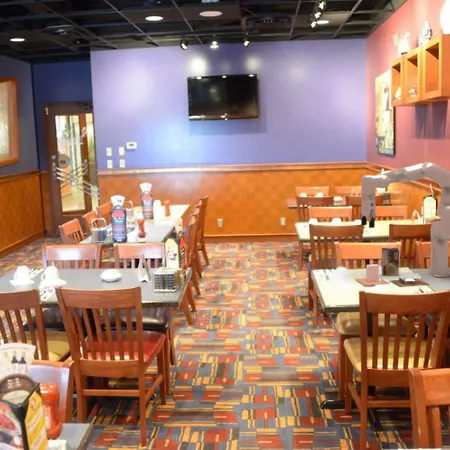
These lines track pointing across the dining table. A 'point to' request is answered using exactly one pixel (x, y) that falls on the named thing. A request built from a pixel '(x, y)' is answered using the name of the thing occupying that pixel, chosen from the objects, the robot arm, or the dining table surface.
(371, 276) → the pink rounded block
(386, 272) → the coffee box
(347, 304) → the dining table surface
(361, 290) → the dining table surface
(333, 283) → the dining table surface
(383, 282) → the reddish pink flat square
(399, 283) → the brown rectangular board
